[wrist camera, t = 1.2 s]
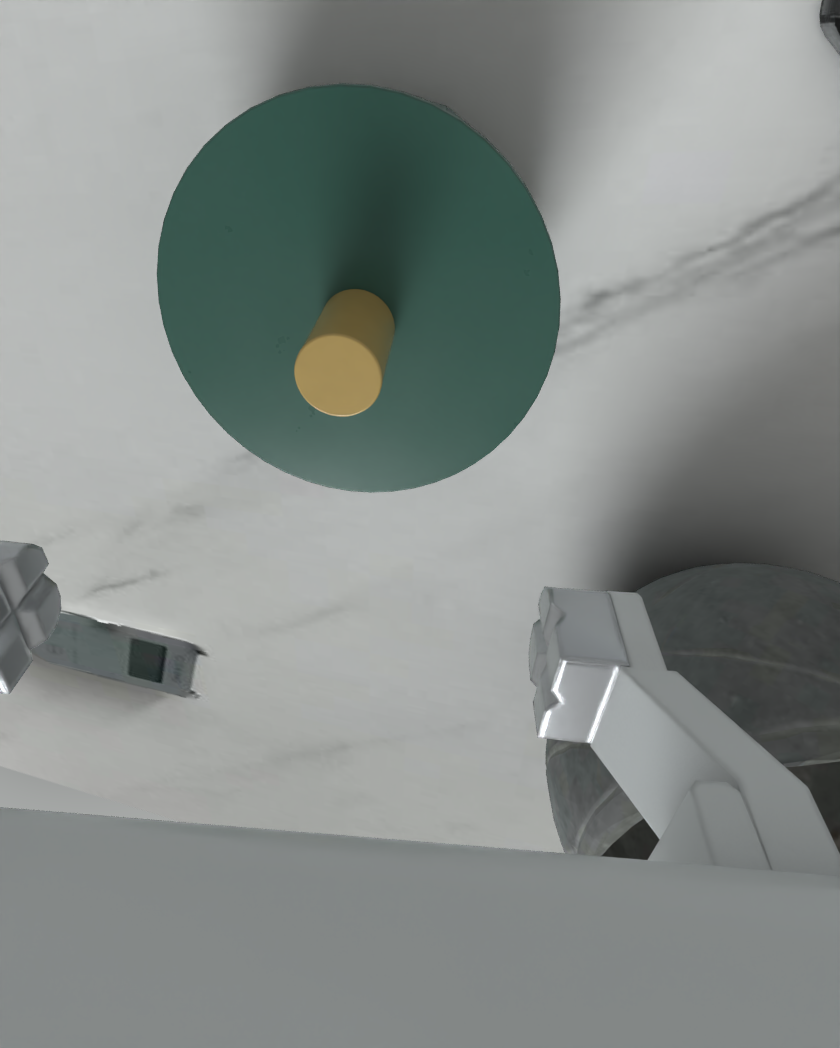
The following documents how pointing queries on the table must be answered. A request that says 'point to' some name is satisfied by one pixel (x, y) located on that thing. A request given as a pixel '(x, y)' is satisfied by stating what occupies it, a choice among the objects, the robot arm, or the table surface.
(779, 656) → the bowl
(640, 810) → the robot arm
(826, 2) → the phone
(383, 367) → the tin lid
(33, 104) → the table surface
